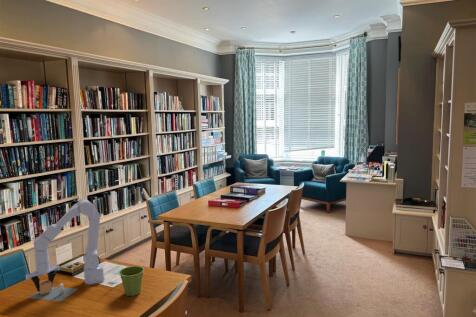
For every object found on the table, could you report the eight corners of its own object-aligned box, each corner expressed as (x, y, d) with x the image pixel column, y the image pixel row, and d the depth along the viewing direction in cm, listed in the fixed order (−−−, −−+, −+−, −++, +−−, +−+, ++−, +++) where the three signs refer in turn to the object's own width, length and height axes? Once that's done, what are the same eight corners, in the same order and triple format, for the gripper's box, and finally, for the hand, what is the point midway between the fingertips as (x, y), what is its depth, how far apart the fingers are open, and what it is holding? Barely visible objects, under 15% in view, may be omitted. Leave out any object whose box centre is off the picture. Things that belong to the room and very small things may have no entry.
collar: (48, 286, 171) (47, 279, 170) (52, 290, 167) (51, 282, 167) (37, 290, 167) (36, 282, 166) (41, 293, 164) (40, 285, 163)
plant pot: (150, 289, 171) (149, 267, 170) (133, 301, 161) (132, 277, 159) (131, 285, 176) (130, 264, 175) (114, 296, 166) (113, 273, 164)
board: (78, 291, 170) (77, 279, 170) (61, 304, 159) (60, 290, 158) (46, 288, 174) (45, 276, 173) (27, 301, 162) (26, 287, 162)
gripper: (55, 255, 174) (57, 281, 175) (22, 264, 163) (25, 291, 164) (60, 258, 169) (62, 285, 170) (27, 268, 158) (30, 296, 160)
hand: (44, 288), depth 167 cm, fingers closed on collar, 5 cm apart
